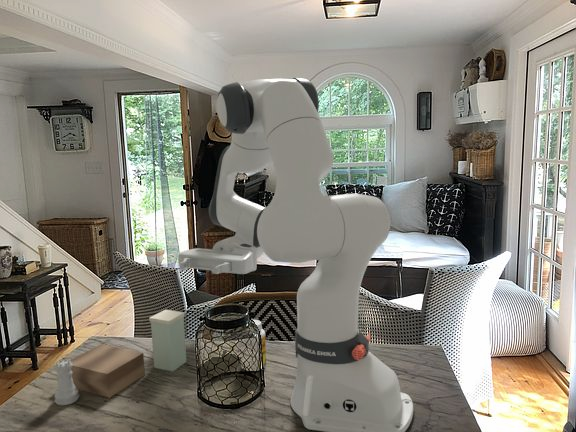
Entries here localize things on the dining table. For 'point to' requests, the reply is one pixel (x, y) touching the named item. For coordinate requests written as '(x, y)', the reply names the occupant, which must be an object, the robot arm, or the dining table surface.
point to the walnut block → (107, 369)
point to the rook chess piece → (65, 384)
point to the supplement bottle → (262, 340)
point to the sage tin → (168, 339)
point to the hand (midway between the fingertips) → (197, 268)
